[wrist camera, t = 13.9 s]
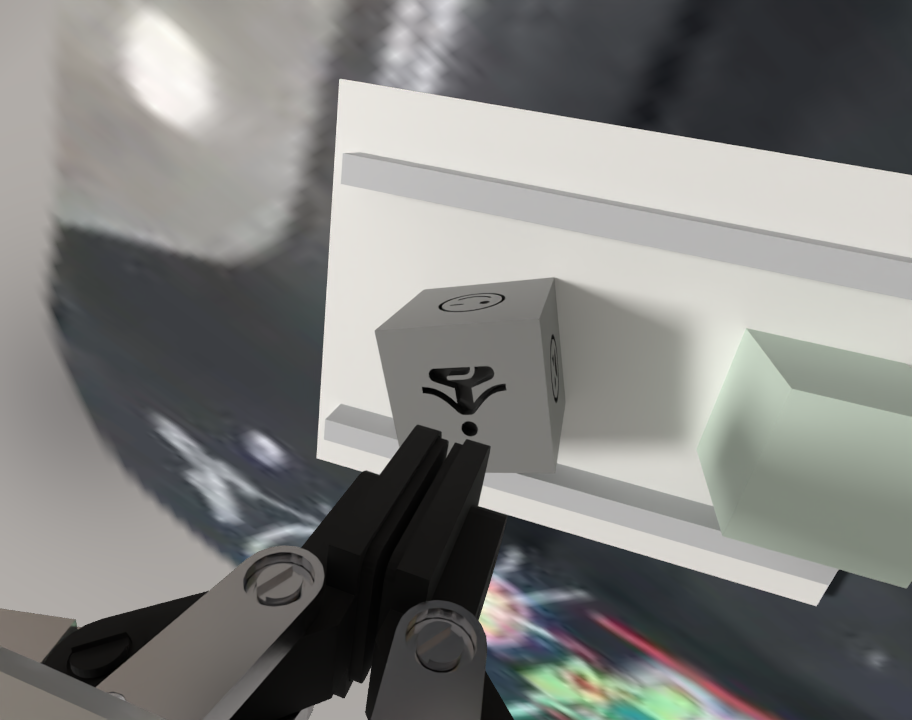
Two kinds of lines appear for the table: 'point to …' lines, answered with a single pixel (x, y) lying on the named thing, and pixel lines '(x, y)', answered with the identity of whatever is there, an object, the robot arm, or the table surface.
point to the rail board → (649, 328)
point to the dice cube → (480, 370)
